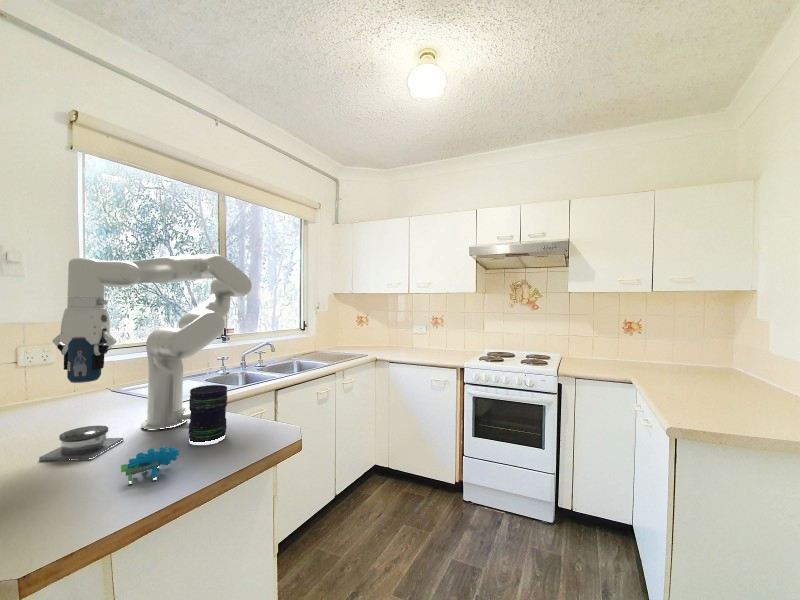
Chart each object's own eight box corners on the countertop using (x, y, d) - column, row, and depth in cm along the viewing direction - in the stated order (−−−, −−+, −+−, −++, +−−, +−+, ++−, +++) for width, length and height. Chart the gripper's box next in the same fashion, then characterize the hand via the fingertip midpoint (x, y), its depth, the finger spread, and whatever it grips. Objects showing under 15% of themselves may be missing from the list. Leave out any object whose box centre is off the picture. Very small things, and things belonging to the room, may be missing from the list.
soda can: (95, 376, 101) (96, 335, 102) (105, 380, 98) (106, 336, 98) (63, 381, 96) (64, 336, 96) (71, 384, 92) (73, 338, 92)
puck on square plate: (123, 441, 101) (123, 423, 101) (91, 459, 89) (92, 440, 89) (77, 442, 100) (77, 424, 100) (39, 461, 88) (39, 441, 88)
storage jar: (209, 448, 98) (211, 394, 98) (179, 444, 100) (181, 391, 100) (233, 435, 108) (234, 386, 108) (205, 432, 110) (206, 383, 110)
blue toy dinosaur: (180, 456, 89) (176, 439, 82) (182, 479, 86) (178, 463, 79) (126, 472, 83) (116, 455, 77) (126, 498, 80) (116, 482, 73)
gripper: (128, 304, 101) (126, 367, 101) (64, 303, 100) (62, 366, 100) (108, 304, 94) (106, 372, 94) (39, 303, 93) (37, 371, 92)
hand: (83, 368), depth 97 cm, fingers closed on soda can, 6 cm apart
